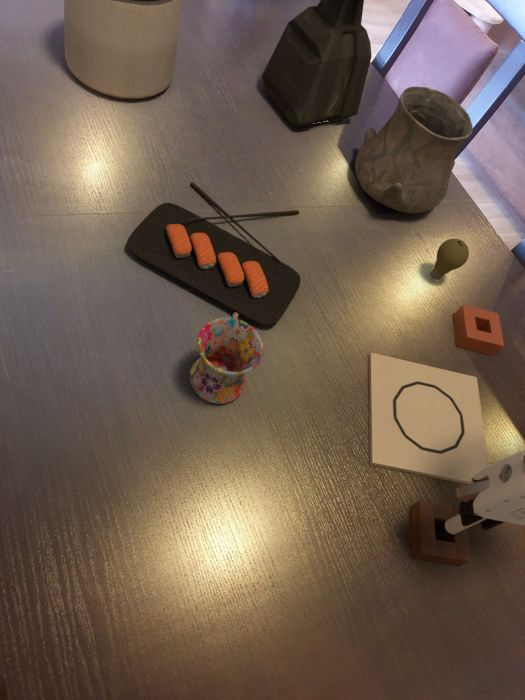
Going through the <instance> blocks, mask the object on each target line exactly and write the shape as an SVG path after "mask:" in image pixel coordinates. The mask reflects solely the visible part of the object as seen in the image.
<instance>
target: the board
mask: <svg viewBox="0 0 525 700" xmlns="http://www.w3.org/2000/svg"><path fill="white" fill-rule="evenodd" d="M480 398H481V397H480V390H479V383H478V377H477V376H474V375H468V374H465V373H461V372H456V371H453V370H449V369H444V368H439V367H435V366H431V365H427V364H423V363H418V362H413V361H410V360H405V359H401V358H397V357H393V356H388V355H383V354H380V353H375V352H370V353H369V354H368V421H369V422H368V424H369V425H368V426H369V427H368V430H369V432H368V433H369V434H368V435H369V437H368V438H369V465H370V466H373V467H374V466H375V467H379V468H384V469H389V470H395V471H399V472H404V473H409V474H413V475H417V476H424V477H428V478H434V479H438V480H444V481H449V482H454V483H459V484H465V485H469V484H473V482H472V481H471V478H472V477H473V476H474V475H475V474H476V473H478V472H479V471H481V470H482V469H484V468H486V467H488V466H489V465H490V464H489V458H488V450H487V442H486V436H485V435H486V434H485V427H484V422H483V421H484V420H483V414H482V413H483V412H482V405H481V399H480Z"/></svg>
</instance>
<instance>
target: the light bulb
mask: <svg viewBox="0 0 525 700" xmlns="http://www.w3.org/2000/svg"><path fill="white" fill-rule="evenodd" d="M469 255H470V251H469V247H468V245H467V244H466V242H465V241H464V240H461V239H459V238H449V239H447V240H444V241H443V242H442V243H441V244H440V245H439V247H438V249H437V251H436V259H435V263H434V267H433V268H432V270H431V271H430V273H429V275H430V277H431V279H433V280H435V281H441V280H442V279H443V277H444V276H445V275H447V274H449V273H450V272H453V271H455V270H458V269H460V268H461V267H463V266H464V265H465V264H466V263H467V261H468V259H469V257H470V256H469Z"/></svg>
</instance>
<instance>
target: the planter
mask: <svg viewBox="0 0 525 700" xmlns="http://www.w3.org/2000/svg"><path fill="white" fill-rule="evenodd" d="M183 1H184V0H63V16H64V17H63V19H64V21H63V22H64V23H63V25H64V57H65V61H66V65H67V68H68V69H69V71H70V72H71V74H72V75H73V76H74V77H75V79H77V80H78V81H79V82H81V84H83V85H84V86H85V87H88V88H89V89H91V90H93V91H95V92H97V93H100V94H102V95H105V96H108V97H111V98H115V99H121V100H141V99H148V98H151V97H154V96H156V95H159V94H161V93H163V92H164V91H166V90H167V89H168V87H170V85H171V83H172V81H173V78H174V73H175V68H176V59H177V50H178V41H179V33H180V27H181V26H180V25H181V17H182V10H183V9H182V8H183Z"/></svg>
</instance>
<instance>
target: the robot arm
mask: <svg viewBox="0 0 525 700" xmlns="http://www.w3.org/2000/svg"><path fill="white" fill-rule="evenodd" d="M471 481H472V482H473V484H469V485H468V484H465V485H461V486H458V487H456V489H455V490H456V499H457V500H460V502H459V506H458V508H459V515H460V516H461V524H462V526H469V525H471V524H473V523H475V522H477V521H479V520H481V519H483V517H484V518H488V519H485V520H483V521H481V522H479V523H480V528H481V530H483V531H488V530H491V529H493V528H495V527H497V526H500V525H502V524H504V523H507V524H509V523H510V524H515V525H518V526H519V525H520V526H525V450H523V451H520V452H517V453H514V454H511V455H509V456H507V457H504V458H501V459H499V460H497V461H496V462H494V463H492V464H491V463H490V464H489V466H488V467H486V468H484V469H482V470H481V471H479V472H478V473H476V474H475V475H474V476H473V477H472V478H471Z"/></svg>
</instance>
